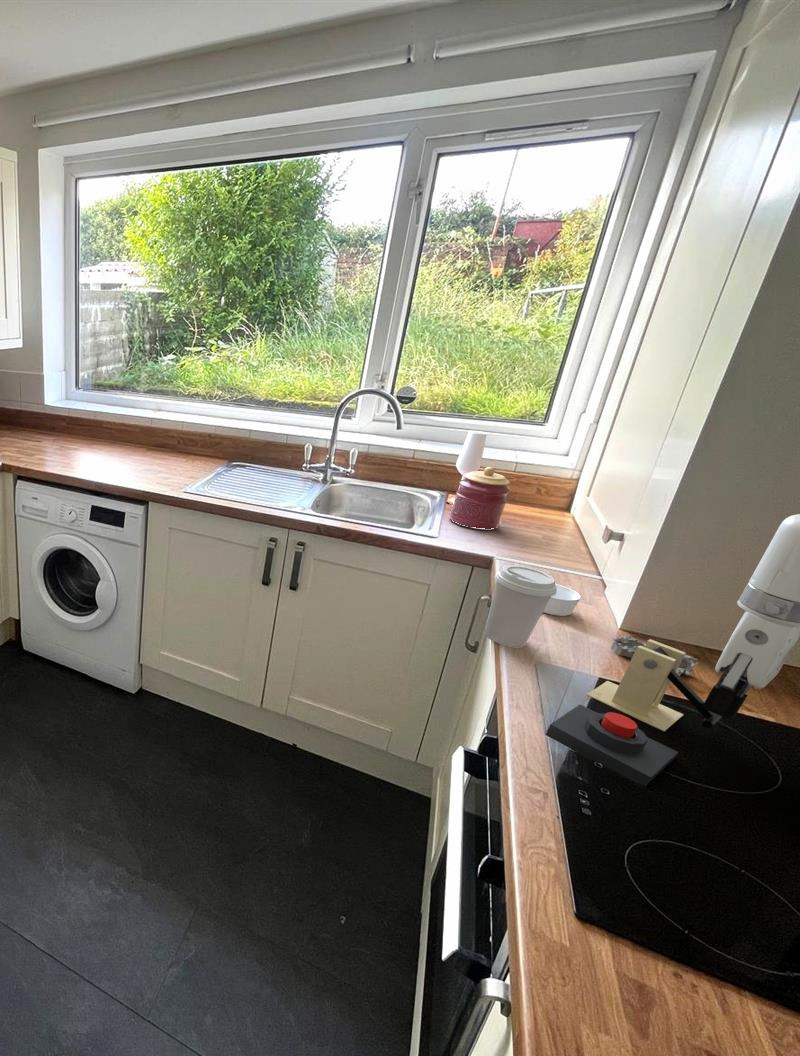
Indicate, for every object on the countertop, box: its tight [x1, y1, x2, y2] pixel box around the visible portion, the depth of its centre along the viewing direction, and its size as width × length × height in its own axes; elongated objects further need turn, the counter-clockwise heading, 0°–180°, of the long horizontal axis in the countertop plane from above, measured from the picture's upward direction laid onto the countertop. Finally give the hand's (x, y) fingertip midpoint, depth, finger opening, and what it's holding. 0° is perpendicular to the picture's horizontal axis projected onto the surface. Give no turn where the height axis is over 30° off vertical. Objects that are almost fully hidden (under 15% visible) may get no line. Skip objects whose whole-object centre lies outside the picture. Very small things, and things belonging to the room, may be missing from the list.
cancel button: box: [601, 711, 638, 738], centre depth 85 cm, size 4×4×2 cm
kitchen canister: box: [449, 466, 511, 529], centre depth 173 cm, size 13×13×18 cm
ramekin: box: [542, 583, 582, 617], centre depth 127 cm, size 9×9×4 cm
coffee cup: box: [483, 564, 557, 649], centre depth 110 cm, size 10×10×15 cm
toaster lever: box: [653, 647, 724, 729], centre depth 89 cm, size 12×5×2 cm
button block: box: [545, 704, 679, 786], centre depth 86 cm, size 12×10×4 cm
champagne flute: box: [449, 430, 488, 503], centre depth 189 cm, size 7×7×24 cm
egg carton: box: [610, 635, 700, 677], centre depth 107 cm, size 11×8×4 cm
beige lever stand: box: [586, 638, 687, 733], centre depth 93 cm, size 10×8×12 cm
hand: (717, 712), depth 86 cm, fingers closed
